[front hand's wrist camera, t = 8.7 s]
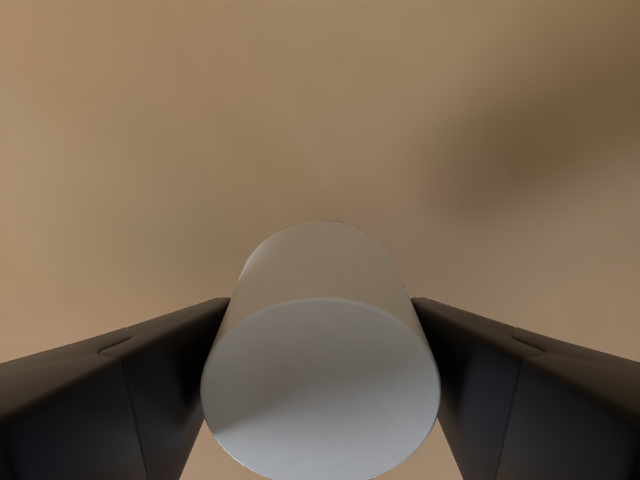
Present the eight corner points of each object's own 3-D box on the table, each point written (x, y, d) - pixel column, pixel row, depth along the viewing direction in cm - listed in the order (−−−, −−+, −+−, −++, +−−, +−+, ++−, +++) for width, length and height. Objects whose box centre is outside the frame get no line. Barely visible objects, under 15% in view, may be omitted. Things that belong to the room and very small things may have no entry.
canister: (232, 219, 12) (183, 298, 8) (408, 219, 12) (456, 297, 8) (244, 363, 13) (212, 489, 9) (396, 363, 13) (430, 488, 9)
